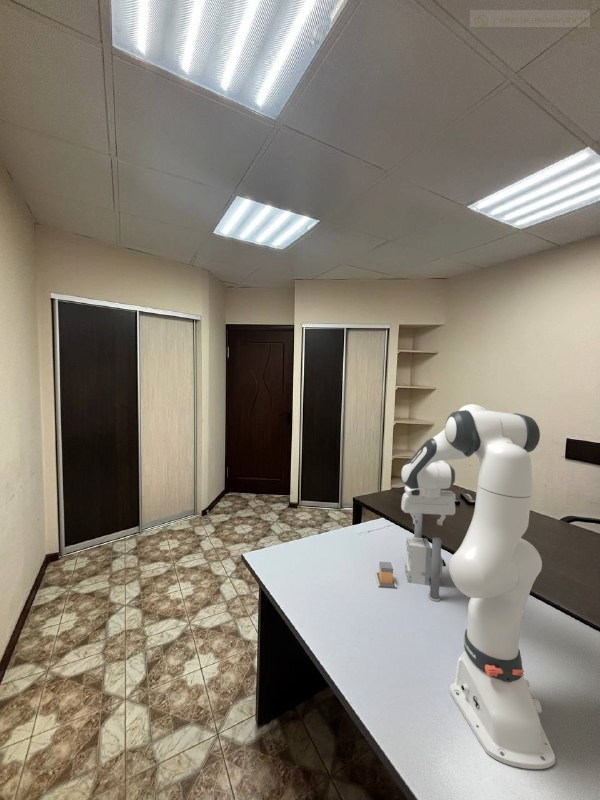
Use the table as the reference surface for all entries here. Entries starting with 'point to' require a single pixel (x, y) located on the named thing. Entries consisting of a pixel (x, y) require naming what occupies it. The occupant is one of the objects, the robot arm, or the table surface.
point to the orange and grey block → (386, 572)
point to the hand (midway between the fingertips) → (427, 524)
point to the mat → (385, 585)
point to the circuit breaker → (419, 561)
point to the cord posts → (435, 560)
